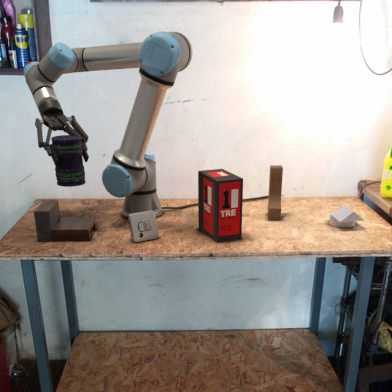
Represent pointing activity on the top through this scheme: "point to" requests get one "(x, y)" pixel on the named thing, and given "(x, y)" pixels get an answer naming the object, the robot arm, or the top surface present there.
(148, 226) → the electrical switch
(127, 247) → the top surface
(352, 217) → the wedge on round base
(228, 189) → the cleaning product box
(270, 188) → the wooden block
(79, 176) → the blue oil drum
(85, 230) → the l-shaped metal base
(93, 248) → the top surface
